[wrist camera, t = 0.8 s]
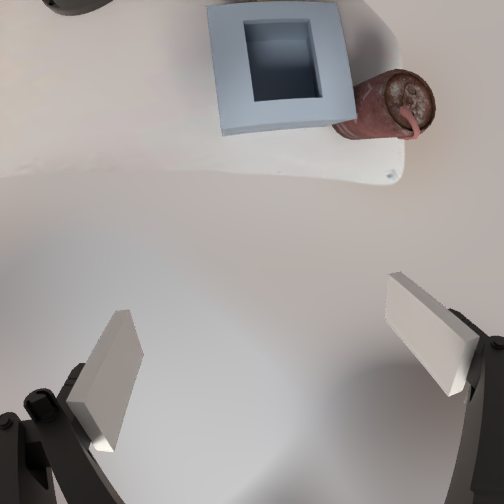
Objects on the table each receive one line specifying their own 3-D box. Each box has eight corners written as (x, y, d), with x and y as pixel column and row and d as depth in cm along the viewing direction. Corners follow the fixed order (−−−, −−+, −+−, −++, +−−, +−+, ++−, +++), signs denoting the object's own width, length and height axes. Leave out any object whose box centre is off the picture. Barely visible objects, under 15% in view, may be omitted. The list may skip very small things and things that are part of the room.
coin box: (210, 42, 31) (206, 6, 21) (310, 35, 31) (336, 3, 22) (222, 136, 35) (221, 128, 25) (324, 126, 35) (357, 118, 25)
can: (339, 148, 36) (397, 148, 23) (319, 100, 34) (369, 74, 21) (380, 133, 36) (448, 129, 22) (362, 87, 34) (424, 61, 20)
